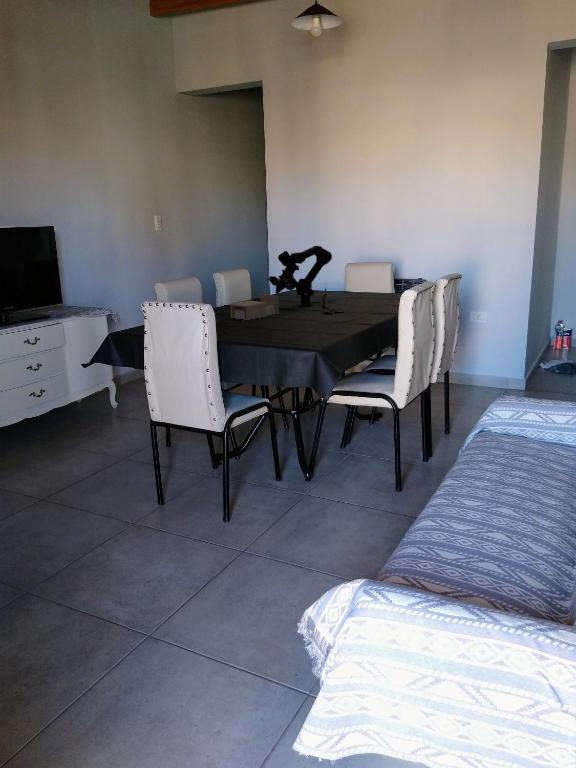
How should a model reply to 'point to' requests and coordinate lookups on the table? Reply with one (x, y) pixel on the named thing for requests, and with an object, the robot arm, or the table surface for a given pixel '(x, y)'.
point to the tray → (270, 305)
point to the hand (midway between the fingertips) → (276, 293)
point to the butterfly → (323, 303)
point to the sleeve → (250, 309)
